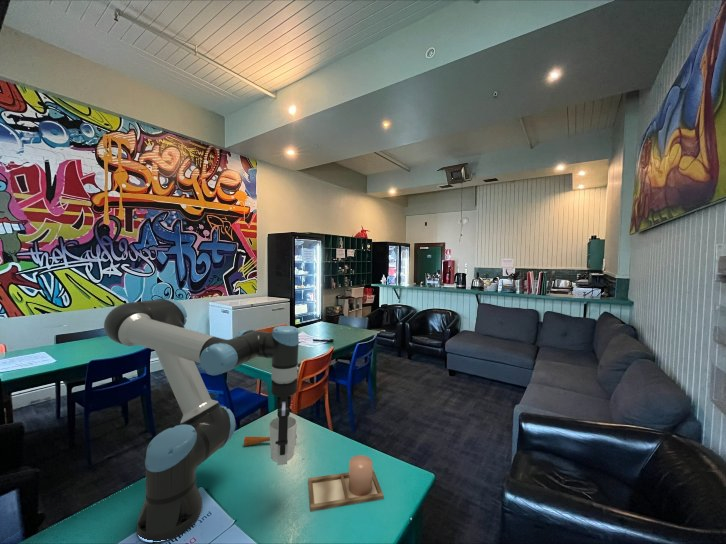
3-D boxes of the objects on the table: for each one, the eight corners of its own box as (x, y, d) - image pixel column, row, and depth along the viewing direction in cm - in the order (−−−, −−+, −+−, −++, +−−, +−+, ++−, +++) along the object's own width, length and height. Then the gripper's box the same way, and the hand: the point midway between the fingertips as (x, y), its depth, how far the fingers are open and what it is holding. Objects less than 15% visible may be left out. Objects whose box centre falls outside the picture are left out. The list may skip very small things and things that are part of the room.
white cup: (279, 468, 82) (280, 433, 82) (263, 456, 87) (264, 423, 87) (301, 454, 88) (302, 421, 88) (284, 444, 93) (285, 413, 93)
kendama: (247, 430, 119) (297, 425, 121) (247, 446, 118) (297, 441, 120) (242, 436, 113) (295, 430, 115) (242, 452, 112) (295, 447, 114)
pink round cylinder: (351, 498, 89) (351, 472, 89) (346, 480, 96) (347, 456, 96) (374, 494, 91) (375, 468, 91) (368, 477, 98) (369, 453, 98)
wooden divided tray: (310, 515, 84) (310, 507, 84) (308, 484, 96) (308, 478, 96) (383, 502, 89) (383, 495, 89) (373, 475, 101) (373, 468, 101)
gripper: (298, 392, 78) (295, 477, 79) (297, 366, 98) (295, 434, 98) (268, 394, 76) (266, 481, 77) (273, 367, 96) (271, 436, 97)
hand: (282, 454), depth 88 cm, fingers closed on white cup, 7 cm apart
